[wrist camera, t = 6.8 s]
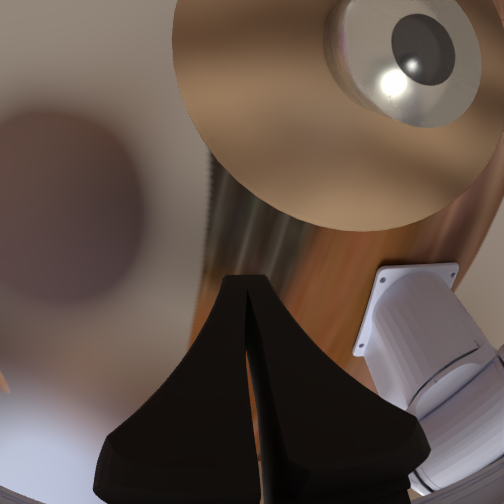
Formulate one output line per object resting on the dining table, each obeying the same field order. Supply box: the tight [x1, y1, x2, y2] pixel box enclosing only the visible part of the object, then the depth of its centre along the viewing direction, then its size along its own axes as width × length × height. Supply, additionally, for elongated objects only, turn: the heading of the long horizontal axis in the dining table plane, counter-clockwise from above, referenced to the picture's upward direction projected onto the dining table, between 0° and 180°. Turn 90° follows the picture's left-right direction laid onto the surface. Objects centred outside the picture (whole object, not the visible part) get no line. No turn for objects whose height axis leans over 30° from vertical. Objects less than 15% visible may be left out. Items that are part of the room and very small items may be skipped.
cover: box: [323, 0, 482, 128], centre depth 11 cm, size 7×7×3 cm
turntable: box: [172, 0, 504, 232], centre depth 13 cm, size 20×20×1 cm
